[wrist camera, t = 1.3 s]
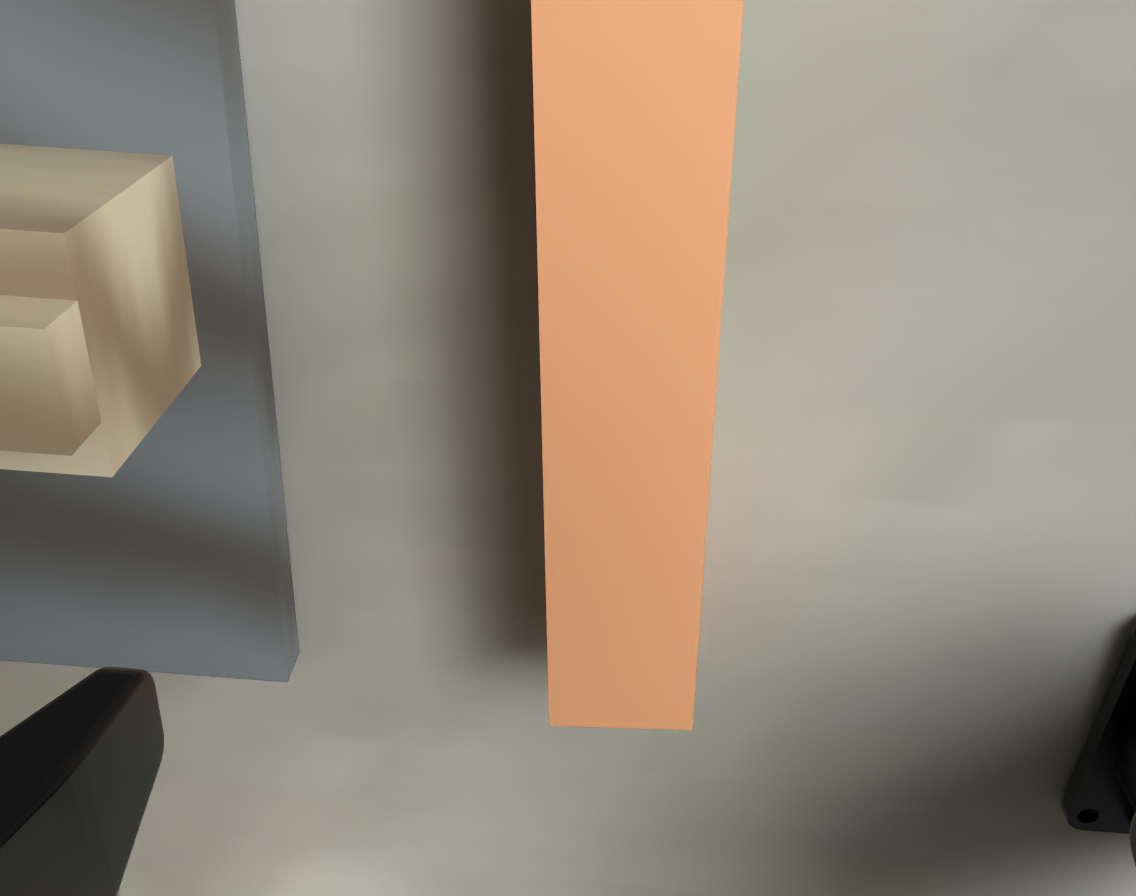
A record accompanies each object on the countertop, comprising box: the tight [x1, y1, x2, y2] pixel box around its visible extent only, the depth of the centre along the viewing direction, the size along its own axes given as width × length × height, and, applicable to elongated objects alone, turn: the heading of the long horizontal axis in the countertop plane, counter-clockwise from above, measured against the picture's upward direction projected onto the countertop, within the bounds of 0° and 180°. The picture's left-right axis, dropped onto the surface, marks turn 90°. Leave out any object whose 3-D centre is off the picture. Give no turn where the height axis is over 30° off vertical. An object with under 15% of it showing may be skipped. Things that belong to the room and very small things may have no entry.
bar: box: [531, 0, 744, 730], centre depth 19 cm, size 18×3×3 cm, turn 1°
